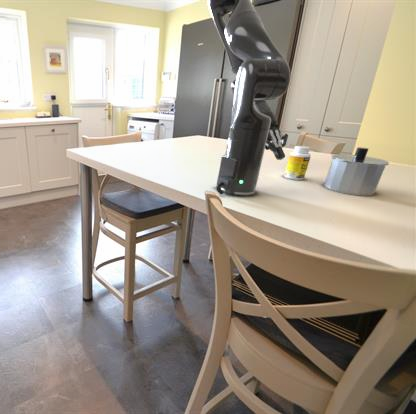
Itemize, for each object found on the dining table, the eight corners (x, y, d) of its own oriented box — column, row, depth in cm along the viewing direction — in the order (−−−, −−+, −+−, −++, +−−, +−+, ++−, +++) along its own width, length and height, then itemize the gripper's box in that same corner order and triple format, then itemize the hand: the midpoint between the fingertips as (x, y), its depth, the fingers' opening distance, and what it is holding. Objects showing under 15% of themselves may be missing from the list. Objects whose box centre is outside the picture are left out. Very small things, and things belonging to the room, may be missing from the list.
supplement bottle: (298, 181, 90) (308, 149, 86) (280, 177, 94) (288, 146, 90) (307, 178, 93) (316, 147, 89) (289, 174, 97) (297, 144, 93)
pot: (354, 197, 77) (365, 166, 73) (315, 184, 87) (323, 157, 84) (384, 194, 80) (396, 164, 76) (343, 182, 90) (352, 155, 86)
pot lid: (365, 169, 73) (371, 153, 72) (320, 158, 84) (324, 144, 83) (399, 166, 76) (405, 151, 75) (351, 157, 87) (355, 143, 86)
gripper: (269, 124, 109) (288, 163, 102) (240, 125, 105) (257, 165, 99) (284, 111, 102) (305, 151, 95) (254, 111, 98) (273, 153, 92)
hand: (281, 158), depth 97 cm, fingers closed
